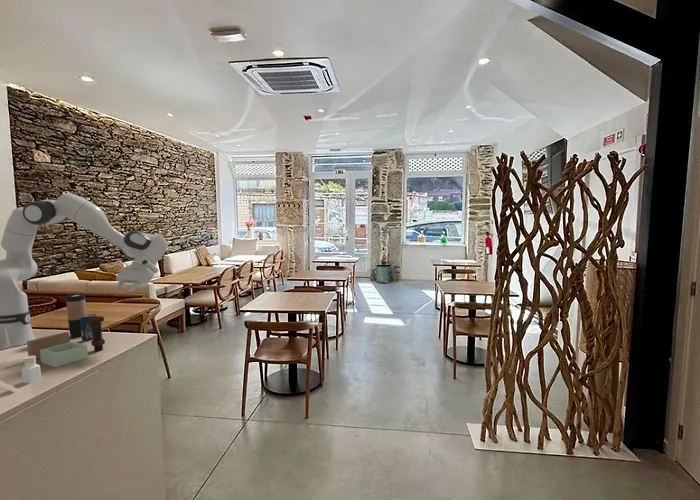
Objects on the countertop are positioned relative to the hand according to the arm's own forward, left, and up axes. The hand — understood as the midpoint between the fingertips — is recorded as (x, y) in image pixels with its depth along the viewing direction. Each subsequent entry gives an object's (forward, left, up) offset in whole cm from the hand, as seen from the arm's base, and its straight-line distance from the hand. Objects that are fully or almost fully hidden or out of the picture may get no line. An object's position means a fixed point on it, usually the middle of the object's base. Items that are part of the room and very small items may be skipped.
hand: (123, 290), depth 179 cm
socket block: (-16, -20, -23) cm, 34 cm away
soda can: (-20, +9, -25) cm, 33 cm away
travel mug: (-30, +19, -25) cm, 43 cm away
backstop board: (-18, -18, -24) cm, 35 cm away
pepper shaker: (-16, -40, -25) cm, 49 cm away
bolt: (-8, -10, -25) cm, 28 cm away
